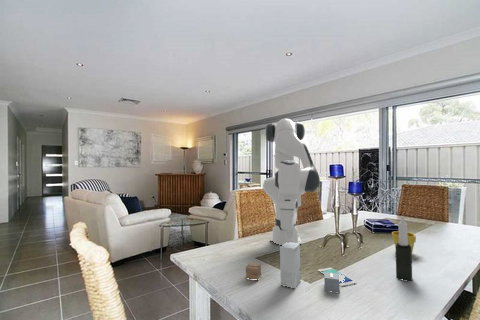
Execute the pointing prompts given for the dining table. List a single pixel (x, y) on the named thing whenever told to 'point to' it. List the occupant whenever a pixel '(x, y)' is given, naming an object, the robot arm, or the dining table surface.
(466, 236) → the dining table surface
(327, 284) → the slate block
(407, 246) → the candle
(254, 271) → the walnut block
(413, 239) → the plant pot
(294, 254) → the skincare box
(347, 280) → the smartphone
